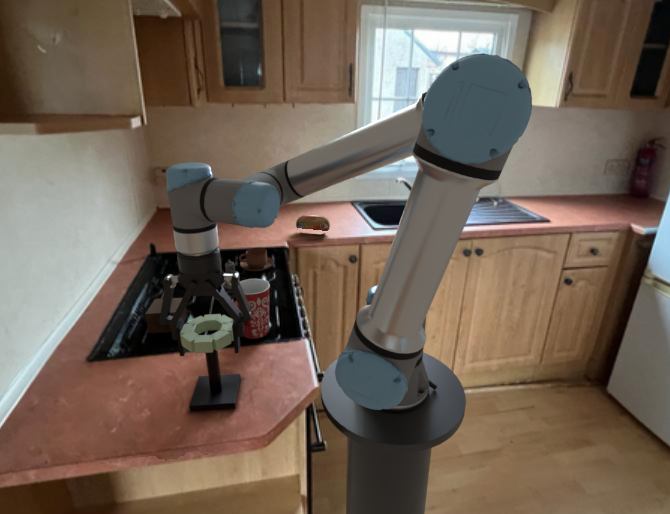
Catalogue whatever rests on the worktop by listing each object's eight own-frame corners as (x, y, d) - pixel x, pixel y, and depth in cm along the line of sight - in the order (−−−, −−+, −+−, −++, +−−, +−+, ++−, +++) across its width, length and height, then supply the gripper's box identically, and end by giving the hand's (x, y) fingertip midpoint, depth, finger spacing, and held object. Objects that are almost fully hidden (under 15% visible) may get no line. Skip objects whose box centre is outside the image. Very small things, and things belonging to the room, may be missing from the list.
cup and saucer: (245, 276, 140) (243, 260, 138) (237, 264, 150) (235, 248, 148) (278, 270, 145) (277, 254, 143) (268, 258, 155) (267, 243, 153)
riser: (187, 316, 116) (184, 297, 114) (179, 331, 109) (176, 312, 107) (158, 317, 116) (154, 298, 114) (148, 333, 108) (145, 313, 106)
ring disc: (237, 323, 87) (236, 313, 86) (231, 351, 78) (229, 340, 77) (189, 325, 86) (188, 315, 85) (176, 354, 77) (175, 343, 76)
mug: (253, 318, 115) (249, 275, 110) (279, 327, 111) (276, 282, 106) (221, 342, 105) (215, 295, 100) (248, 352, 101) (244, 304, 96)
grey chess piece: (233, 300, 125) (229, 264, 121) (219, 296, 128) (214, 260, 123) (246, 292, 130) (243, 257, 125) (232, 288, 132) (228, 254, 128)
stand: (241, 379, 92) (235, 327, 87) (235, 408, 83) (229, 353, 78) (199, 381, 91) (192, 329, 86) (190, 411, 82) (181, 355, 78)
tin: (296, 233, 181) (295, 215, 178) (298, 231, 184) (297, 213, 181) (329, 236, 178) (328, 217, 175) (330, 233, 181) (330, 215, 178)
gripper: (261, 239, 80) (268, 337, 88) (141, 243, 78) (159, 342, 86) (258, 254, 73) (265, 359, 81) (126, 259, 71) (146, 365, 79)
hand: (210, 350), depth 83 cm, fingers closed on ring disc, 10 cm apart
